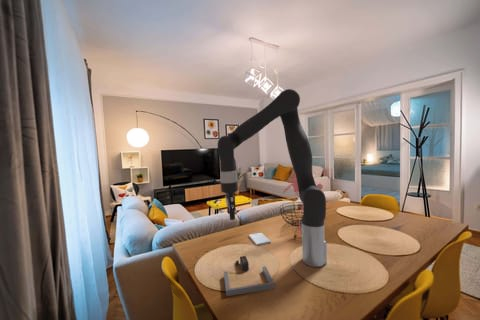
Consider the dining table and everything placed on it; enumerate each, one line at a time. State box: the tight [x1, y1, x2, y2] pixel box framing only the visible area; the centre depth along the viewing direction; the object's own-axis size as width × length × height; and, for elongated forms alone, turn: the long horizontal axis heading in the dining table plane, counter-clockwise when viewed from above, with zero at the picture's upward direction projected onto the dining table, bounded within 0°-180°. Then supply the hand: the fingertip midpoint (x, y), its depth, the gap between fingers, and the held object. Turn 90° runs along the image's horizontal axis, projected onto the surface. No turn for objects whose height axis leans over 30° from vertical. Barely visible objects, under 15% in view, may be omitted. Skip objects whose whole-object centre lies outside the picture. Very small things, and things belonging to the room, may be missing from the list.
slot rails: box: [223, 265, 275, 297], centre depth 77 cm, size 17×11×2 cm, turn 99°
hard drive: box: [248, 232, 272, 247], centre depth 112 cm, size 2×8×12 cm
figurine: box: [282, 177, 323, 235], centre depth 119 cm, size 15×26×35 cm, turn 114°
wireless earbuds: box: [235, 255, 250, 272], centre depth 87 cm, size 5×7×3 cm, turn 11°
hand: (231, 216), depth 91 cm, fingers open, 8 cm apart
